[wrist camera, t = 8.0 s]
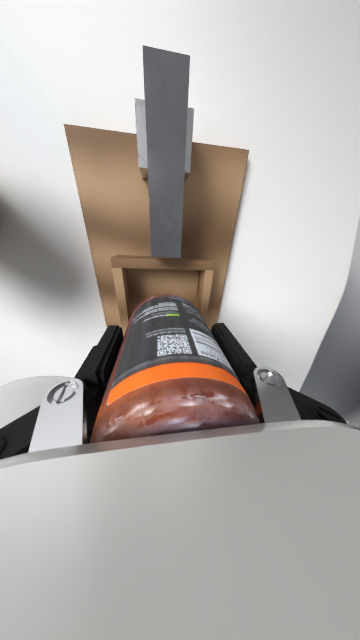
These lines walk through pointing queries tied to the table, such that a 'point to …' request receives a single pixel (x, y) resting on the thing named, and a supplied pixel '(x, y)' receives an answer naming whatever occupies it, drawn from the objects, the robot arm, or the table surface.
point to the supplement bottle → (170, 377)
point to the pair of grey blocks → (165, 145)
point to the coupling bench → (134, 223)
